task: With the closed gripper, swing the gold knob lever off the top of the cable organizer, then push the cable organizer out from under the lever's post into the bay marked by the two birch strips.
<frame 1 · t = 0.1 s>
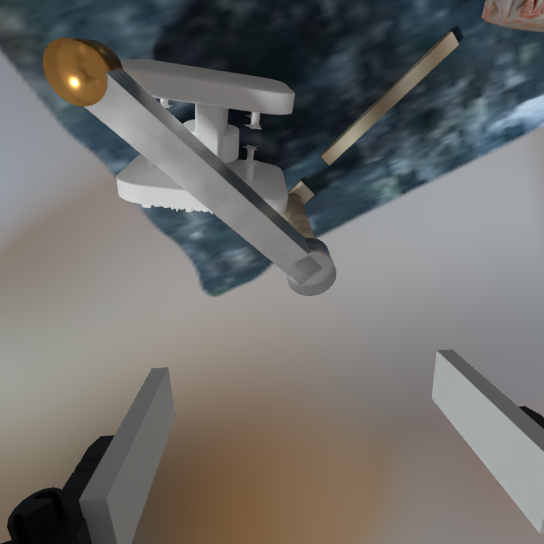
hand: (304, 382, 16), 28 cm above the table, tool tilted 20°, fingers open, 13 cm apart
cable organizer: (216, 126, 35), on the table
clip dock: (215, 126, 35), on the table
gold knob lever: (220, 189, 24), point 15 cm above the table, hinge at 0.0°
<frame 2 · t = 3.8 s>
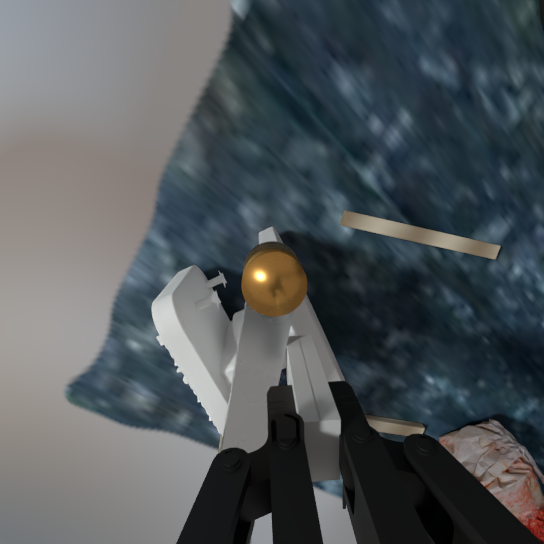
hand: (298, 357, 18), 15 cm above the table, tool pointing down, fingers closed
food item: (474, 455, 41), on the table
cable organizer: (257, 308, 34), on the table
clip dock: (257, 309, 33), on the table
gold knob lever: (243, 433, 20), point 15 cm above the table, hinge at 2.5°, touching gripper
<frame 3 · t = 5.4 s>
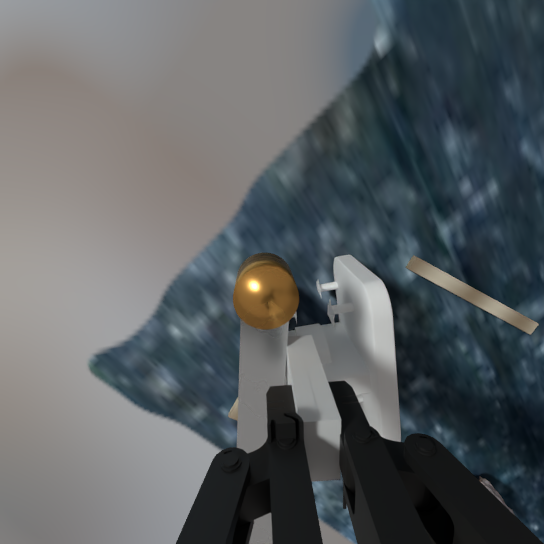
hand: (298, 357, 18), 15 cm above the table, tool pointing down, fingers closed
cable organizer: (304, 325, 34), on the table
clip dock: (304, 326, 34), on the table
gold knob lever: (257, 444, 20), point 15 cm above the table, hinge at 24.6°, touching gripper
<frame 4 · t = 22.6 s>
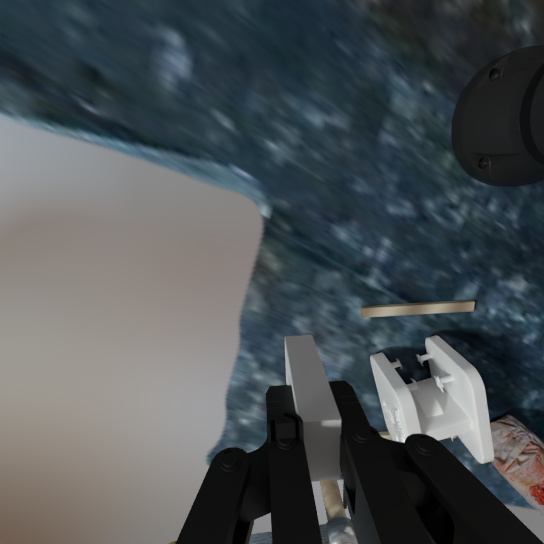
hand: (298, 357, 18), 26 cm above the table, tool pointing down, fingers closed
food item: (503, 440, 54), on the table
cable organizer: (405, 379, 50), on the table
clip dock: (319, 380, 49), on the table
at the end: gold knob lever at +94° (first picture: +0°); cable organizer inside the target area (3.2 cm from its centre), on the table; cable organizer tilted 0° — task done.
